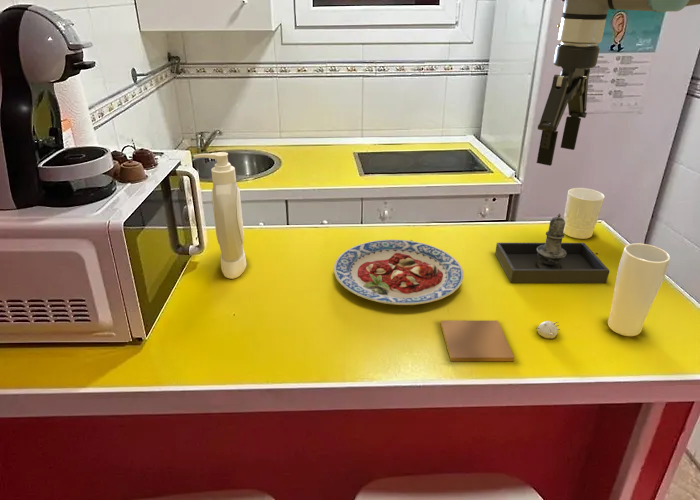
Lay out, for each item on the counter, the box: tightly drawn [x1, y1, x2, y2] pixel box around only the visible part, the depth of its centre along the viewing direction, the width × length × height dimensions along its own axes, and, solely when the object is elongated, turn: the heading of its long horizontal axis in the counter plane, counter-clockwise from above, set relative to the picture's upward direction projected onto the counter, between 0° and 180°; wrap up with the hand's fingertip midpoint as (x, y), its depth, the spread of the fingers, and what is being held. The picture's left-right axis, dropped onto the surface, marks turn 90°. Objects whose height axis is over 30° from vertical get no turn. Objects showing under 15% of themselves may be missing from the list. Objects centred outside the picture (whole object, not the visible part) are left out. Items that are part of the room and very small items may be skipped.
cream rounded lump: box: [535, 320, 561, 339], centre depth 88 cm, size 3×4×3 cm
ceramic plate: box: [333, 239, 465, 306], centre depth 104 cm, size 26×26×3 cm
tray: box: [494, 242, 611, 284], centre depth 108 cm, size 19×12×3 cm, turn 91°
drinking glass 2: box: [607, 242, 671, 337], centre depth 87 cm, size 7×7×15 cm
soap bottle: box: [193, 151, 248, 280], centre depth 102 cm, size 13×8×24 cm, turn 7°
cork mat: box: [440, 320, 515, 362], centre depth 86 cm, size 10×10×1 cm
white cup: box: [563, 187, 606, 240], centre depth 122 cm, size 8×8×10 cm
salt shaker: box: [535, 213, 567, 269], centre depth 106 cm, size 6×6×12 cm
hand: (556, 156), depth 105 cm, fingers open, 13 cm apart
